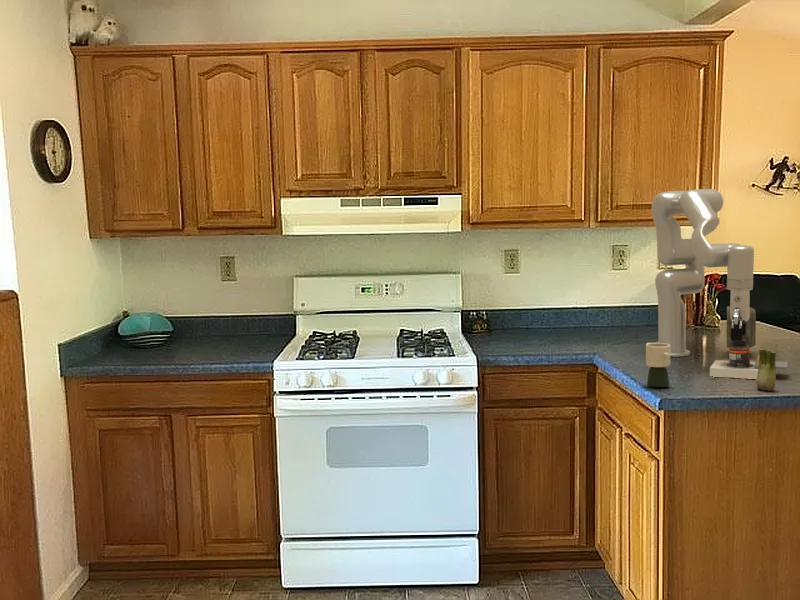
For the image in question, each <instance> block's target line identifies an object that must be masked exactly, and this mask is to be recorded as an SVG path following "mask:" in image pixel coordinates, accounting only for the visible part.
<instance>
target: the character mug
mask: <svg viewBox="0 0 800 600" xmlns="http://www.w3.org/2000/svg"><path fill="white" fill-rule="evenodd" d="M670 353H671V351H670V344H665V343H656V342H652V343H650V344H647V343H646V344H645V366H648V367H649V369H648V375H647V386H648V387H653V388H654V387H655V388H656V387H657V388H658V387H659V388H660V387H662V388H663V387H670V381H669V380H670V379H669V378H670V377H669V373H668V369H667V368H666V367H668V366H670V365H671V364H672V363H671V357H670Z"/></svg>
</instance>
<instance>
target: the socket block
mask: <svg viewBox="0 0 800 600" xmlns="http://www.w3.org/2000/svg"><path fill="white" fill-rule="evenodd" d="M755 363H756V361H750V368H735V367H729V360H723V359H721V360H720V359H715V360H714V362H713V363H712V364H711V365H710V367H709V377H710V376H713V377H712V378H714V377H734V378H748V379H757V375H758V369H759V368H754V365H755Z"/></svg>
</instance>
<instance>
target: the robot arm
mask: <svg viewBox="0 0 800 600" xmlns="http://www.w3.org/2000/svg"><path fill="white" fill-rule="evenodd" d="M723 206H724V198H723V195H722V193H721V192H720V191H719V190H717V189H715V188H700V189H699V188H698V189H695V188H694V189H690V190H669V191H661V192H660V193H657V194H656V195H655V196H654V198H653V200H652V203H651V217H652V219H653V222H654V226H655V231H656V232H655V233H656V245H657V246H656V247H657V257H658V260H659V262H660V264H662V265H664V266H685V268H669V269H664V270H661V271H659V272H657V274H656V276H655V279H654V281H655V282H654V283H655V284H654V286H655V289H656V294H657V296H656V297H657V313H658V314H657V315H658V317H657V318H658V323H657V324H658V325H657V326H658V327H657V328H658V329H657V330H658V340H657V341H656V342H655V343H665V344H670V351H671V353H670V358H671V357H672V358H673V357H677V358H678V357H686V356H690V355H691V351H690V349H687V345H686V344H687V343H686V342H687V341H686V339H687V337H686V336H687V335H686V334H687V333H686V328H687V326H686V325H687V324H686V323H687V322H686V319H687V317H686V315H687V314H686V311H687V310H686V305H685V303H684V301H683V299H682V298H681V295H691V294H692V295H693V294H698V293H700V292H702V291H703V289H704V287H705V281H706V280H705V268H722V267H723V268H726V269H727V271H726V289H727V290H728V291H730V301H729V302H730V303H729V306H730V319H731V320H732V328H731V340H732V341H742V335H745V332H746V323H745V322H746V321H747V320H748V319H749V317H750V307H751V305H750V304H751V301H750V300H751V299H750V298H751V295H750V294H751V293H750V291H753V290H754V289H753V288H754V266H755V264H754V261H755V250H754V248H753V246H751V245H748V244H747V245H742V244H739V243H735V242H732V243H730V242H729V243H724V242H723V243H711V244H710V243H709V242H708V241H707V239H706V236H708V235H710V234H711V233H713V232H714V231H715V230H716V229H717V228H718V227H719V225H720V217H719V216H718V214H717V213H719V212H720V211H721V210H722V208H723ZM673 215H685V217H686V219H687V220H688V222H689V225H691V227H692V228H693V232H692V233H691V238H682V229H681V226H680V223H679V221H678V220H677V219H676V218H675V217H674V216H673ZM650 343H653V342H646V344H650Z"/></svg>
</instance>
